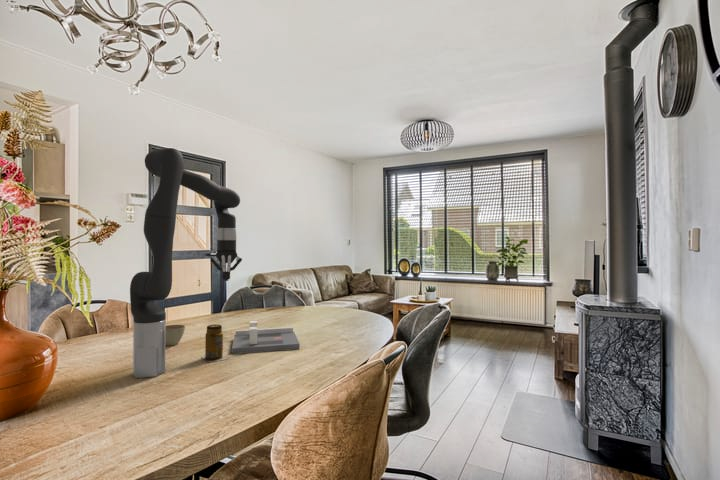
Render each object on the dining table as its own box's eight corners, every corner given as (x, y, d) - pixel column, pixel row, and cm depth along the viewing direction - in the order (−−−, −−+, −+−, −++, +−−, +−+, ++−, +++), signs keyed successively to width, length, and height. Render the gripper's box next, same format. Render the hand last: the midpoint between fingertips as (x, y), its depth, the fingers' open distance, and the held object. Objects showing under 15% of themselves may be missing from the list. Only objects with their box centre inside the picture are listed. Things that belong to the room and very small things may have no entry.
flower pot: (177, 347, 152) (177, 329, 152) (153, 347, 152) (153, 329, 153) (189, 340, 162) (189, 324, 162) (166, 340, 162) (166, 324, 163)
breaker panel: (299, 348, 151) (299, 338, 151) (231, 353, 144) (232, 343, 144) (293, 335, 173) (293, 326, 173) (234, 339, 165) (234, 330, 165)
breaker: (256, 336, 161) (257, 322, 161) (249, 337, 160) (249, 323, 160) (256, 334, 165) (256, 320, 165) (249, 334, 164) (249, 321, 164)
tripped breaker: (257, 343, 150) (257, 329, 150) (249, 344, 149) (249, 329, 149) (257, 341, 154) (257, 326, 154) (249, 341, 153) (249, 327, 153)
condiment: (220, 353, 144) (220, 322, 144) (228, 359, 138) (228, 326, 138) (200, 357, 140) (200, 325, 140) (207, 363, 133) (208, 329, 133)
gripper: (208, 239, 151) (208, 282, 150) (243, 239, 154) (242, 281, 154) (210, 239, 158) (210, 280, 158) (243, 239, 161) (243, 279, 161)
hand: (226, 280), depth 156 cm, fingers closed
